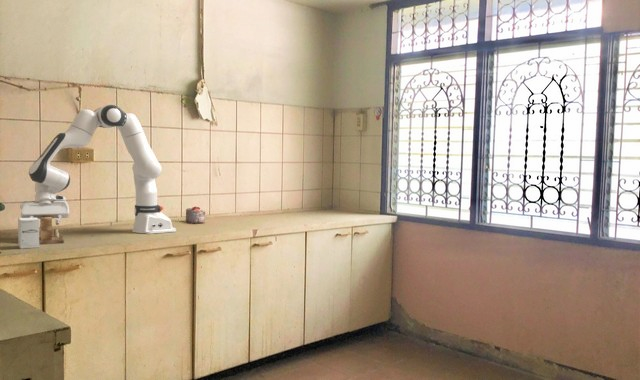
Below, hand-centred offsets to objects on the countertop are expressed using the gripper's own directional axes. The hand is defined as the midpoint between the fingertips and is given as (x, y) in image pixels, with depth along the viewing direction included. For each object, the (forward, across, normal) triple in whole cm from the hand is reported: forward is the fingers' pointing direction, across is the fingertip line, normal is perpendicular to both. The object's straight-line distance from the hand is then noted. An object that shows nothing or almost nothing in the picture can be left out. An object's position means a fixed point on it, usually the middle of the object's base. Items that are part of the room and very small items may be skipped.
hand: (46, 224), depth 245 cm
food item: (-24, +81, +36) cm, 92 cm away
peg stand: (+5, 0, +6) cm, 8 cm away
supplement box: (+14, -7, -2) cm, 16 cm away
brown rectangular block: (+4, 0, +5) cm, 7 cm away
